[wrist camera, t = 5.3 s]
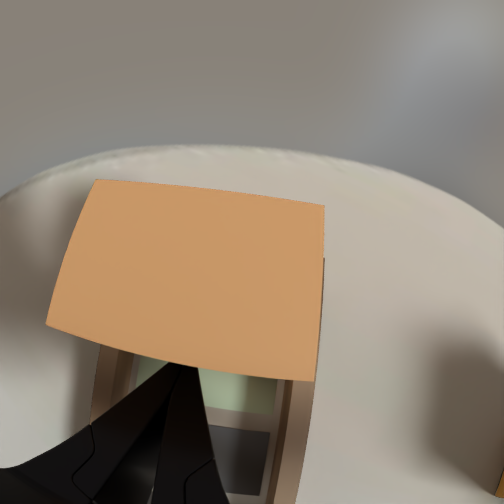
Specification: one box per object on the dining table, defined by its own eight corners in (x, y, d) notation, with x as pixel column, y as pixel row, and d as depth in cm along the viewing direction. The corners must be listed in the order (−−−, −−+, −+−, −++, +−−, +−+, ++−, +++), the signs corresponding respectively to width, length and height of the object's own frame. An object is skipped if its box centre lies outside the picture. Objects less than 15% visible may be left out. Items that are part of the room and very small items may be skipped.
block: (266, 375, 13) (313, 381, 5) (150, 354, 13) (45, 324, 5) (276, 299, 15) (324, 205, 7) (165, 282, 15) (95, 179, 7)
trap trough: (269, 549, 10) (275, 574, 7) (108, 517, 10) (89, 535, 7) (310, 277, 17) (324, 257, 14) (146, 252, 17) (130, 230, 14)
